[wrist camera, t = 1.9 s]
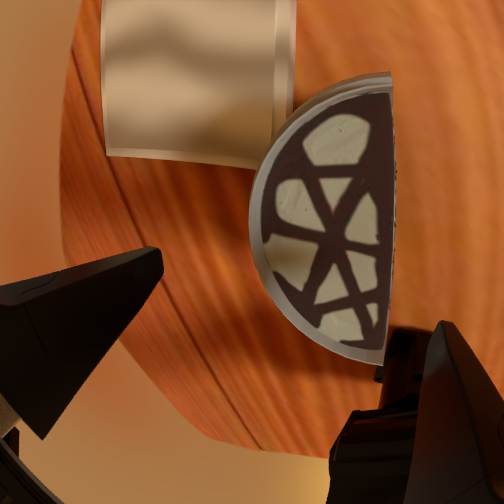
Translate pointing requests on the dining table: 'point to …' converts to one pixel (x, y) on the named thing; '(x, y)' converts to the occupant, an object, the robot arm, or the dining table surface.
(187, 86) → the serving board
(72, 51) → the dining table surface
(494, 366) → the dining table surface
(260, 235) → the food container
